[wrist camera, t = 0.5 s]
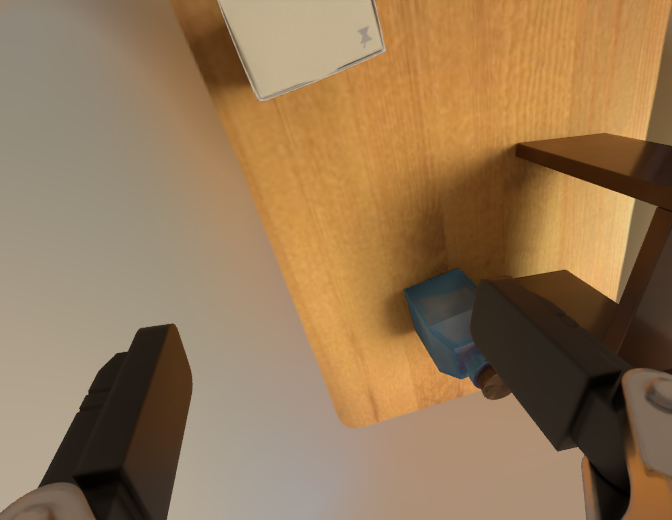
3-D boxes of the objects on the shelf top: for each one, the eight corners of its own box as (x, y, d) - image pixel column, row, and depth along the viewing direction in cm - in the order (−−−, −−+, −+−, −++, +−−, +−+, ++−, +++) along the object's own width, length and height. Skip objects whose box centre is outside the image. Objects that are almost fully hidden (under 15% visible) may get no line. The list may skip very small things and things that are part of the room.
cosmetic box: (317, -15, 24) (363, -78, 13) (338, 57, 26) (392, 51, 16) (230, 20, 24) (208, -16, 13) (258, 89, 26) (258, 104, 16)
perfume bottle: (415, 331, 41) (470, 422, 30) (403, 289, 37) (459, 375, 27) (466, 311, 41) (538, 395, 30) (458, 267, 37) (535, 344, 27)
